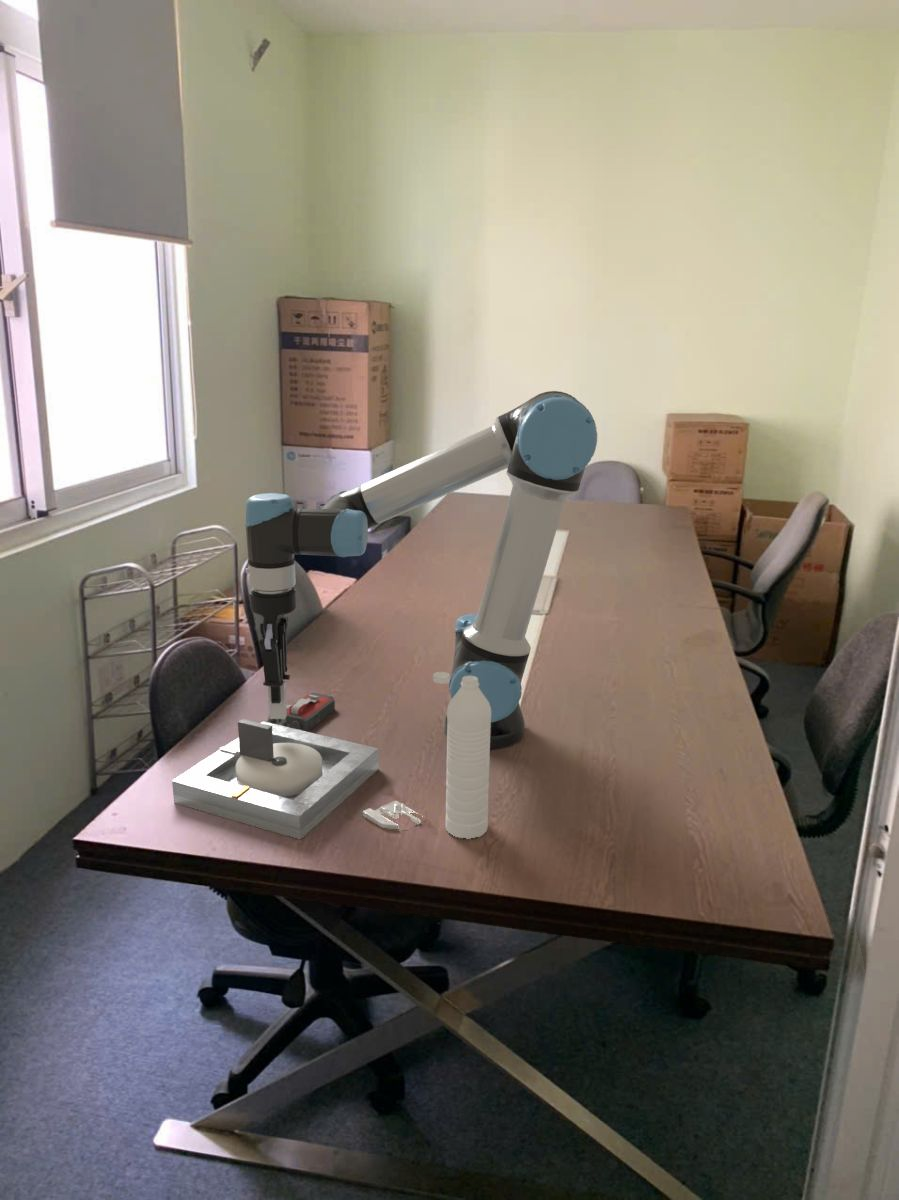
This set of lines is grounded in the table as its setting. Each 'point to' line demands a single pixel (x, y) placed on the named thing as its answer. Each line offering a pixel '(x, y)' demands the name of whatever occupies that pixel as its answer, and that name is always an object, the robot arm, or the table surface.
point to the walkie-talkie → (307, 712)
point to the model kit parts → (389, 814)
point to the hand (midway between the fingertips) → (278, 716)
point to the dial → (274, 762)
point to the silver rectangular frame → (291, 815)
